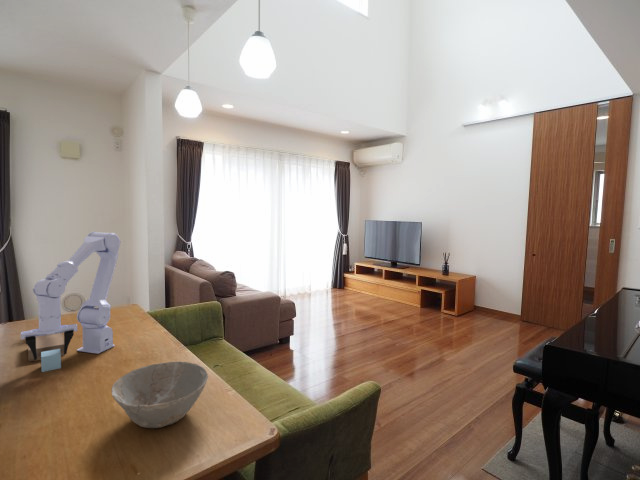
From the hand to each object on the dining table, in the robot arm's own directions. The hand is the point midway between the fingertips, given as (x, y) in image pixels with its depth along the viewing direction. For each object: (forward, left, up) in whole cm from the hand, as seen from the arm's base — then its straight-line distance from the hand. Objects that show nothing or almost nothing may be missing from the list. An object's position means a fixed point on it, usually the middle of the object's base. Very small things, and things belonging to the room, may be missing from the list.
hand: (50, 355), depth 113 cm
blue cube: (0, 0, -4) cm, 4 cm away
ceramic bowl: (-52, +14, -4) cm, 54 cm away
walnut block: (+13, -9, -4) cm, 17 cm away
